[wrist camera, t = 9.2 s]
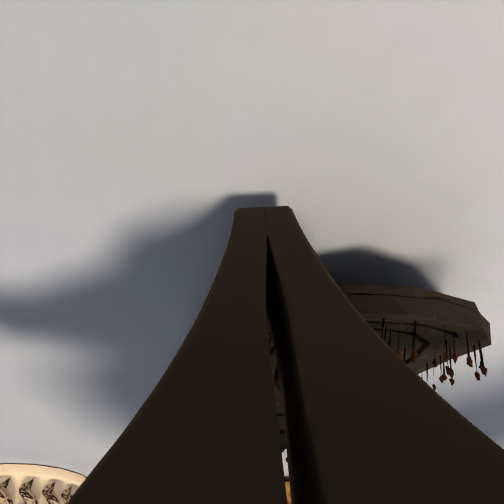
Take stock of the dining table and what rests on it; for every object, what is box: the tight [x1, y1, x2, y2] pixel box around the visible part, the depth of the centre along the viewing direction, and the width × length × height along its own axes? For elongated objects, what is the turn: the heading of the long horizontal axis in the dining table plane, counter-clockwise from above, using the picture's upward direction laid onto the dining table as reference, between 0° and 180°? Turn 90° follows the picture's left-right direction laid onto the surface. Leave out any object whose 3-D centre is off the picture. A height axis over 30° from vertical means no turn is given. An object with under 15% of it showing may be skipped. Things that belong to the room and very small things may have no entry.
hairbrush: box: [267, 285, 491, 462], centre depth 19 cm, size 8×4×25 cm
